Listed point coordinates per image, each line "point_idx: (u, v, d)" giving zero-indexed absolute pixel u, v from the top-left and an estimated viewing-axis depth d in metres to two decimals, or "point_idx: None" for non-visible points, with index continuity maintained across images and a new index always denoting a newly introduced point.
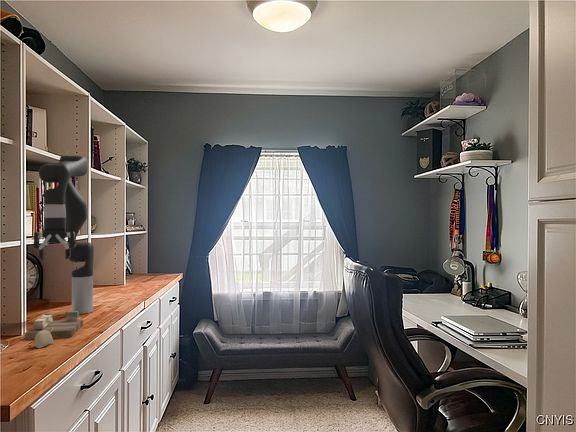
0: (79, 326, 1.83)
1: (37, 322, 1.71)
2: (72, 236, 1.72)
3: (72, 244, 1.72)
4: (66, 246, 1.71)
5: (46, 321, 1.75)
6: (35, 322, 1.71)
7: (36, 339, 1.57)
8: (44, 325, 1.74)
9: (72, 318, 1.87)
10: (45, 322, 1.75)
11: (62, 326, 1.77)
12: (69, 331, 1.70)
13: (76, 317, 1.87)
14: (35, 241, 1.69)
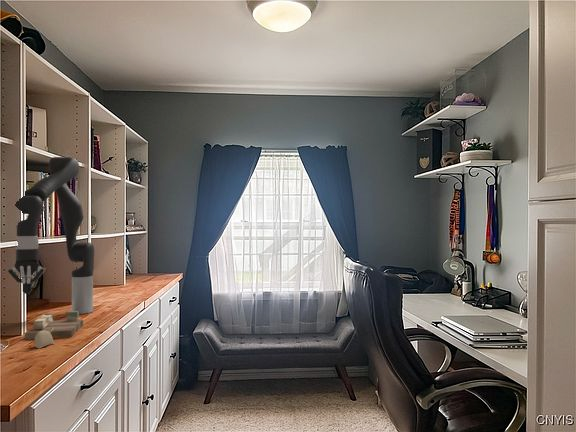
0: (79, 326, 1.83)
1: (37, 322, 1.71)
2: (40, 272, 1.72)
3: (33, 278, 1.72)
4: (27, 280, 1.71)
5: (46, 321, 1.75)
6: (35, 322, 1.71)
7: (36, 339, 1.56)
8: (44, 325, 1.74)
9: (72, 318, 1.87)
10: (45, 322, 1.75)
11: (62, 326, 1.77)
12: (69, 331, 1.70)
13: (76, 317, 1.87)
14: (15, 276, 1.70)
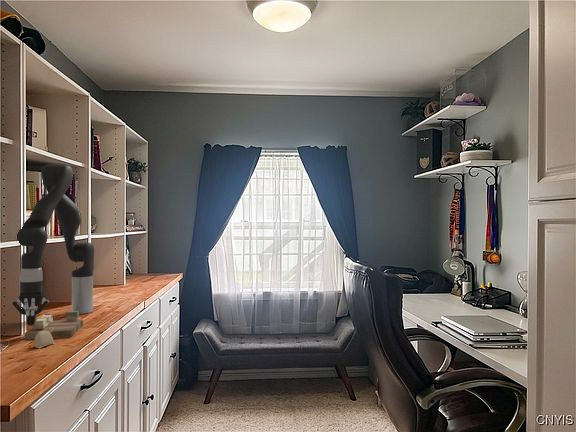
0: (79, 326, 1.83)
1: (38, 322, 1.71)
2: (44, 305, 1.72)
3: (37, 311, 1.72)
4: (31, 313, 1.71)
5: (46, 321, 1.75)
6: (36, 322, 1.71)
7: (36, 339, 1.56)
8: (44, 325, 1.74)
9: (72, 318, 1.87)
10: (45, 322, 1.75)
11: (62, 326, 1.77)
12: (69, 331, 1.70)
13: (76, 317, 1.87)
14: (19, 309, 1.71)
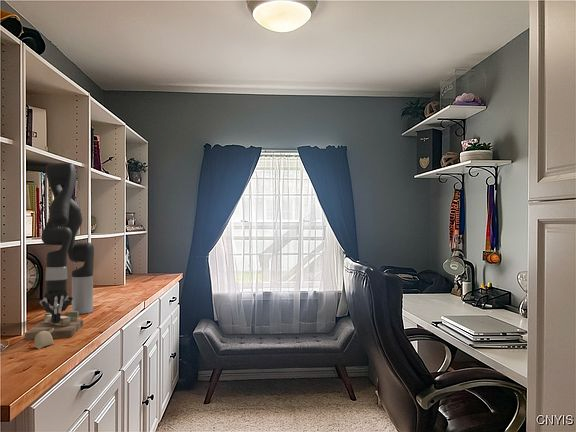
0: (79, 326, 1.83)
1: (66, 319, 1.77)
2: (69, 301, 1.79)
3: (64, 308, 1.77)
4: (58, 310, 1.75)
5: None
6: (64, 319, 1.76)
7: (36, 339, 1.56)
8: None
9: (72, 318, 1.87)
10: None
11: (62, 326, 1.77)
12: (69, 331, 1.70)
13: (76, 317, 1.87)
14: (48, 308, 1.71)
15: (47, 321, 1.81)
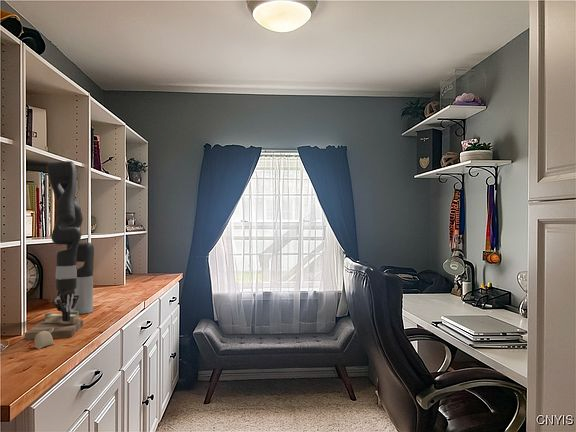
0: (79, 326, 1.83)
1: (75, 316, 1.81)
2: (77, 299, 1.83)
3: (73, 305, 1.81)
4: (69, 308, 1.79)
5: None
6: (74, 317, 1.80)
7: (36, 340, 1.56)
8: None
9: None
10: None
11: (62, 326, 1.77)
12: (69, 331, 1.70)
13: None
14: (62, 306, 1.75)
15: (49, 321, 1.82)
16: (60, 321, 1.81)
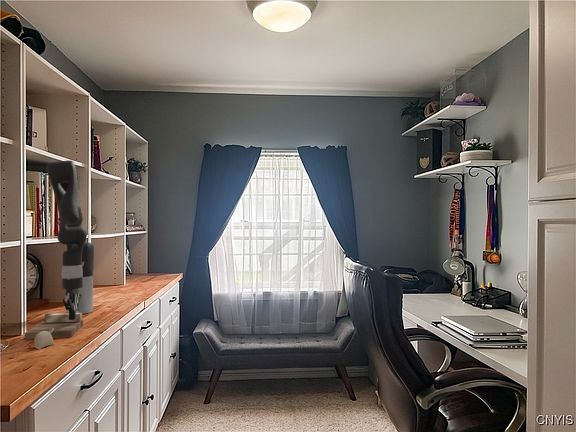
0: (79, 326, 1.83)
1: (80, 314, 1.85)
2: (80, 298, 1.86)
3: (77, 304, 1.84)
4: (75, 307, 1.82)
5: None
6: (80, 314, 1.84)
7: (36, 340, 1.56)
8: None
9: None
10: None
11: (62, 326, 1.77)
12: (69, 331, 1.70)
13: None
14: (71, 305, 1.77)
15: (52, 320, 1.82)
16: (64, 320, 1.83)
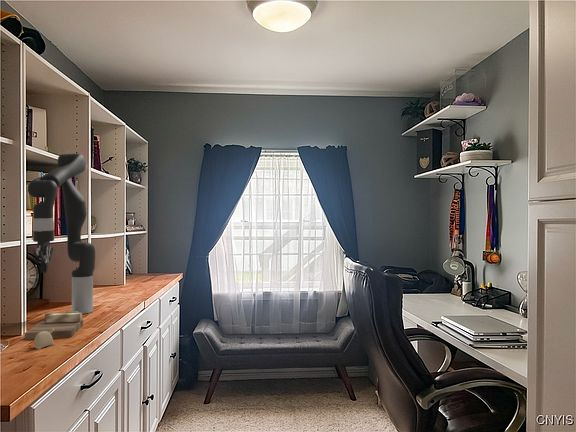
0: (79, 326, 1.83)
1: (80, 314, 1.85)
2: None
3: (49, 257, 1.85)
4: (47, 260, 1.83)
5: None
6: (80, 314, 1.84)
7: (35, 340, 1.55)
8: None
9: None
10: None
11: (62, 326, 1.77)
12: (69, 331, 1.70)
13: None
14: (43, 257, 1.79)
15: (52, 320, 1.82)
16: (64, 320, 1.83)
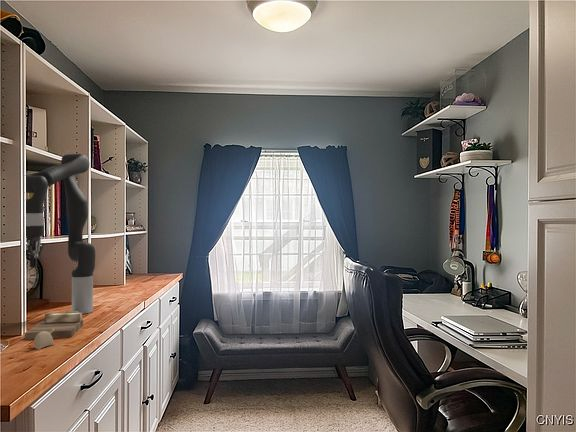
0: (79, 326, 1.83)
1: (80, 314, 1.85)
2: (42, 247, 1.89)
3: (39, 253, 1.86)
4: (37, 255, 1.84)
5: None
6: (80, 314, 1.84)
7: (35, 340, 1.55)
8: None
9: None
10: None
11: (62, 326, 1.77)
12: (69, 331, 1.70)
13: None
14: (32, 251, 1.80)
15: (52, 320, 1.82)
16: (64, 320, 1.83)
